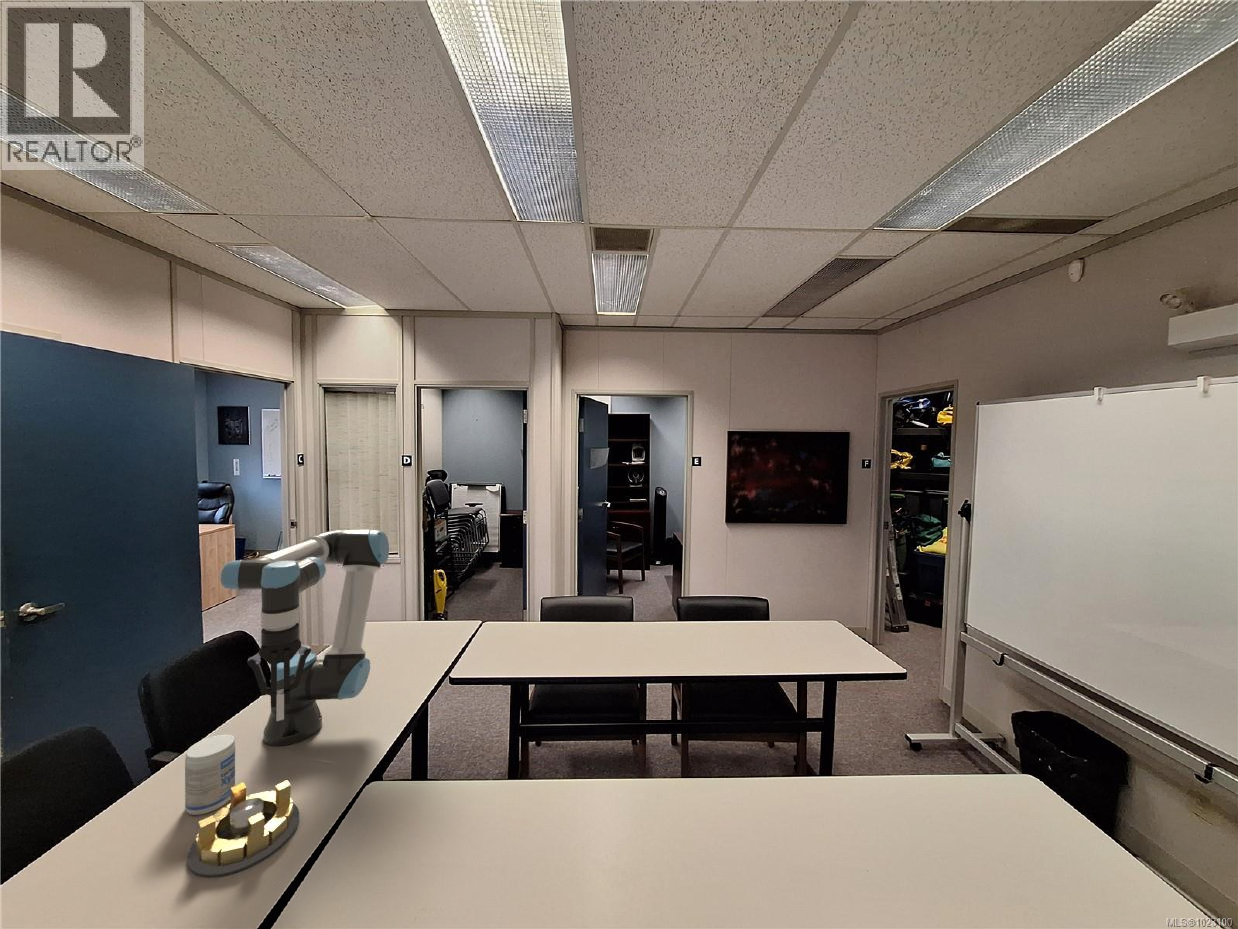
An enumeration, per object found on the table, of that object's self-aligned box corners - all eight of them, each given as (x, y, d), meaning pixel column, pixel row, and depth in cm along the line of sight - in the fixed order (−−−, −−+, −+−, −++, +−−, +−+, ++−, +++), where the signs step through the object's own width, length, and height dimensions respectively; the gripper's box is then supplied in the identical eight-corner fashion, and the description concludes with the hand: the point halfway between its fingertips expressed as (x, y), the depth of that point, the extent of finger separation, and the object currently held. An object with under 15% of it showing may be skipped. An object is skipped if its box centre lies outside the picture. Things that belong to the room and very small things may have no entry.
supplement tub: (232, 807, 114) (232, 750, 114) (180, 823, 109) (180, 763, 108) (237, 782, 122) (238, 729, 122) (189, 796, 117) (190, 740, 116)
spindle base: (257, 795, 118) (258, 769, 118) (319, 814, 113) (319, 787, 113) (163, 862, 99) (163, 831, 99) (232, 889, 94) (232, 856, 93)
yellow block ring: (189, 835, 104) (189, 805, 104) (278, 792, 118) (278, 766, 118) (207, 880, 94) (207, 848, 94) (302, 828, 107) (303, 799, 107)
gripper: (311, 615, 120) (310, 702, 121) (247, 625, 112) (247, 718, 113) (313, 625, 114) (312, 716, 115) (245, 636, 106) (245, 734, 107)
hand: (280, 717), depth 114 cm, fingers closed
